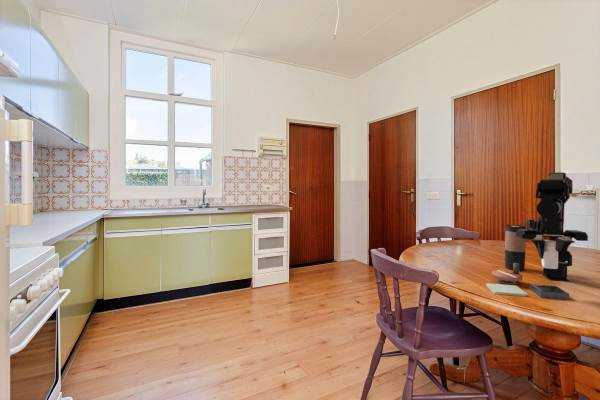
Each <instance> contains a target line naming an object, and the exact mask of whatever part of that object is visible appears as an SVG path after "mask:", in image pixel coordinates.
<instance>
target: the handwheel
mask: <svg viewBox="0 0 600 400" xmlns="http://www.w3.org/2000/svg"><path fill="white" fill-rule="evenodd" d="M491 276H492V277H493V278H496V279H497V280H498V279H502V280H508V281H515V282H519V281H523V275H522V274H521V273H520V271H519V264H518V263H513V270H511V271H510V270H503V269H501V270H500V269H499V270H498V269H497V270H492V271H491Z"/></svg>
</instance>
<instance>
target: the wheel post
mask: <svg viewBox="0 0 600 400" xmlns="http://www.w3.org/2000/svg"><path fill="white" fill-rule="evenodd" d="M496 282H497V283H498V284H501V285H515V286H516V284H517V281H508V280H502V279H498V278H497V281H496Z"/></svg>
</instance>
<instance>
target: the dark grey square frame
mask: <svg viewBox="0 0 600 400" xmlns="http://www.w3.org/2000/svg"><path fill="white" fill-rule="evenodd" d="M529 290H530V291H531V292H532V293H534V294H535V293H536V294H535V295H537V296H538V297H539V298H544V299H553V300H556V299H557V300H566V299H569V300H570V293H569V292H567V291H565V290H563V289H562V288H561V287H558V286H556V285H548V284H533V283H530V284H529Z"/></svg>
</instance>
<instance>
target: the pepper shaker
mask: <svg viewBox="0 0 600 400" xmlns="http://www.w3.org/2000/svg"><path fill="white" fill-rule="evenodd" d="M543 240H544V241H545V246H544V255H543V259H541V265H542V268H543V267H544V268H549V269H558V251H557V250H556V241H553V240H549V239H543Z"/></svg>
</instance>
